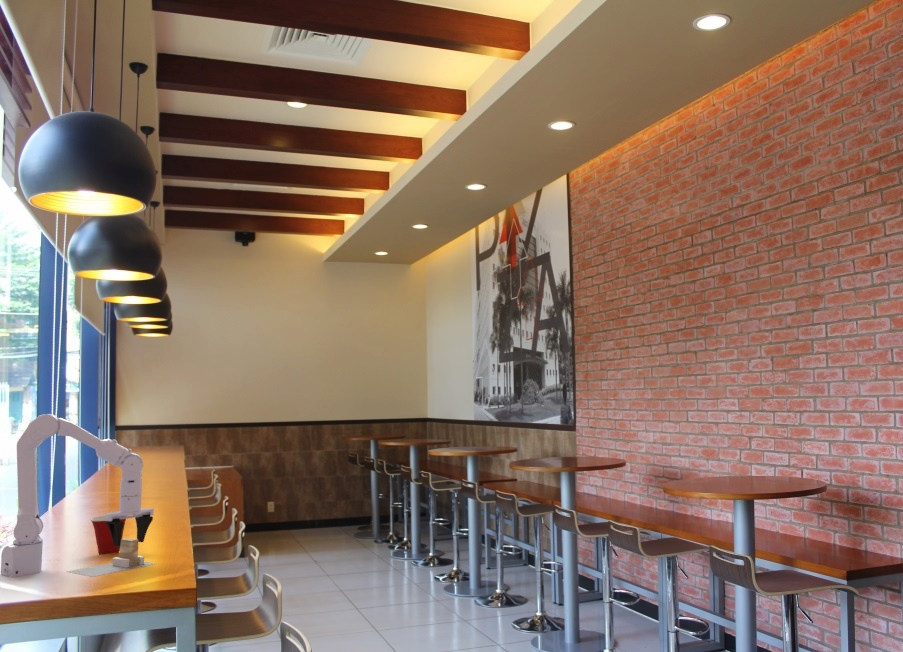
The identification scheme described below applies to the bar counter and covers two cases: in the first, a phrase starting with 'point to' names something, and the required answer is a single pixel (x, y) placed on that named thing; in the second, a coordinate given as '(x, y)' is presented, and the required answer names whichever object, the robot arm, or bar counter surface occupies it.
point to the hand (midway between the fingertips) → (128, 543)
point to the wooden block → (129, 550)
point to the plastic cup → (104, 536)
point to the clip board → (111, 567)
